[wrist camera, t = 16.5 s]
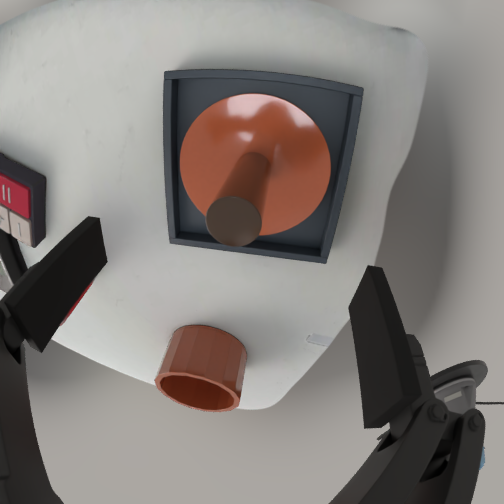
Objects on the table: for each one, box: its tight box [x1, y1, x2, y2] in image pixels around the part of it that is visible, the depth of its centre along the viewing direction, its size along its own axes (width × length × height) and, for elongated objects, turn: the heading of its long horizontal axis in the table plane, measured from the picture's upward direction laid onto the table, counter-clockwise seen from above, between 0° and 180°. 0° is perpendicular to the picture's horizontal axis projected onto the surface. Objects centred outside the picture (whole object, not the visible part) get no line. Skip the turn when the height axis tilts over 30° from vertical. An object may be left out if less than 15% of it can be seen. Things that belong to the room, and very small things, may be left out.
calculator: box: [0, 153, 46, 248], centre depth 28 cm, size 11×4×15 cm
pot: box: [154, 325, 247, 412], centre depth 39 cm, size 13×13×8 cm
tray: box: [163, 69, 364, 264], centre depth 24 cm, size 18×17×2 cm
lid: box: [180, 93, 331, 247], centre depth 20 cm, size 14×14×11 cm
